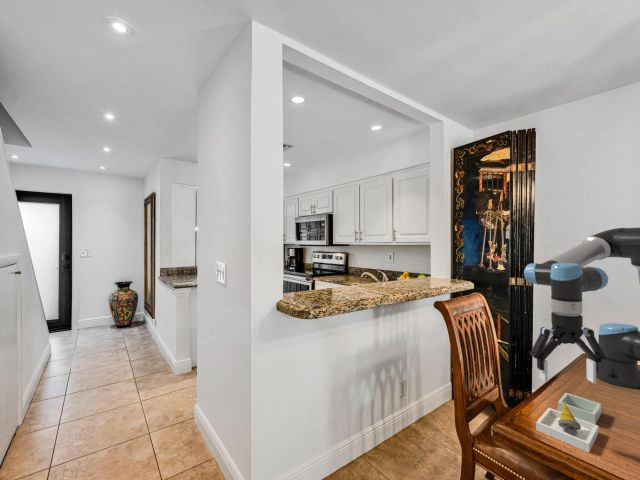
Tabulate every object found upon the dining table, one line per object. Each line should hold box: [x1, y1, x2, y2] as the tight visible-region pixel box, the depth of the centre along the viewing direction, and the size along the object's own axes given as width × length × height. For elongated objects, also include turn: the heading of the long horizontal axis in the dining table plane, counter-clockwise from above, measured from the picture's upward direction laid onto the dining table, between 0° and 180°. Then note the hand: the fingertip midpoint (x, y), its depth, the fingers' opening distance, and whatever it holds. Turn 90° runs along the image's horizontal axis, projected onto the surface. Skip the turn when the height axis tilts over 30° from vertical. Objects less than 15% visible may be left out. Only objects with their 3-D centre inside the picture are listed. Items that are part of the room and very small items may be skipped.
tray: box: [535, 407, 599, 453], centre depth 93 cm, size 13×13×2 cm
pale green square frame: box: [557, 392, 602, 425], centre depth 103 cm, size 10×10×4 cm
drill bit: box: [558, 402, 581, 436], centre depth 93 cm, size 5×5×10 cm
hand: (567, 380), depth 93 cm, fingers open, 13 cm apart
